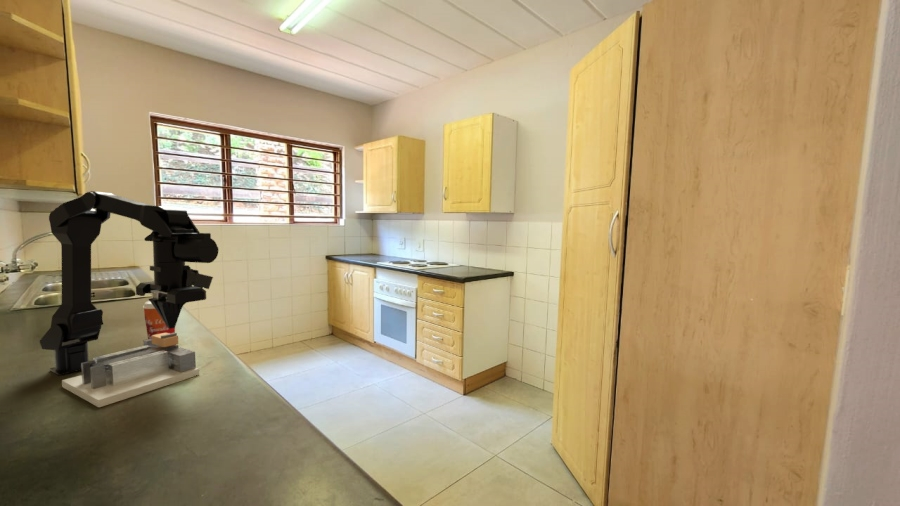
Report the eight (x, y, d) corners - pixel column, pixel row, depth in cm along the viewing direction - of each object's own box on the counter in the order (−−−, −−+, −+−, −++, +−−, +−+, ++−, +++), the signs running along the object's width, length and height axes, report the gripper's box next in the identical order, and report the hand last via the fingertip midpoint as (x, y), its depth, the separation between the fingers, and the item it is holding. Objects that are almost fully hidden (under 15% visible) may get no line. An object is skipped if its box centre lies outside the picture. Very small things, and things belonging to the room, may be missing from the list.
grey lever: (92, 368, 77) (91, 364, 77) (172, 346, 91) (172, 343, 91) (98, 370, 76) (97, 367, 76) (178, 348, 89) (178, 345, 89)
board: (62, 386, 79) (61, 380, 79) (159, 360, 95) (159, 355, 95) (98, 407, 70) (98, 400, 70) (199, 374, 86) (199, 368, 86)
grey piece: (72, 378, 80) (70, 356, 79) (159, 355, 94) (158, 336, 94) (106, 395, 72) (104, 371, 71) (195, 368, 86) (194, 347, 86)
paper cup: (141, 355, 99) (138, 304, 98) (148, 347, 105) (146, 299, 104) (176, 351, 102) (174, 302, 101) (181, 343, 109) (179, 297, 108)
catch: (151, 343, 89) (151, 333, 89) (166, 340, 92) (165, 330, 92) (164, 347, 86) (163, 336, 86) (178, 343, 89) (177, 333, 89)
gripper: (229, 261, 85) (230, 326, 86) (186, 256, 94) (188, 315, 95) (175, 265, 76) (177, 338, 77) (133, 259, 84) (136, 325, 85)
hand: (171, 327), depth 84 cm, fingers closed
